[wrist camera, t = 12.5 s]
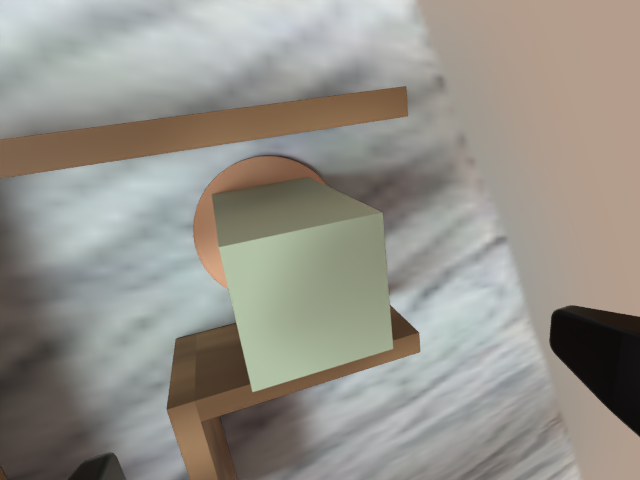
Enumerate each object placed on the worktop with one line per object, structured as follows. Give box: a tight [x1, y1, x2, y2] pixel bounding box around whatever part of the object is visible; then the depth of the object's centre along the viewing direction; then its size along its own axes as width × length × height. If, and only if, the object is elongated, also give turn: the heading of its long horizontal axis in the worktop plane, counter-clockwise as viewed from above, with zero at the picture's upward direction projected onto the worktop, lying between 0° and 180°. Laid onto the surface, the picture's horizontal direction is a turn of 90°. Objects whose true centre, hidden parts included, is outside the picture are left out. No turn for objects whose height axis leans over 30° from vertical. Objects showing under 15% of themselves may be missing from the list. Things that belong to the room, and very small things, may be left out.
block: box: [212, 177, 393, 392], centre depth 14 cm, size 4×4×8 cm
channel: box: [0, 86, 420, 480], centre depth 16 cm, size 20×20×5 cm
